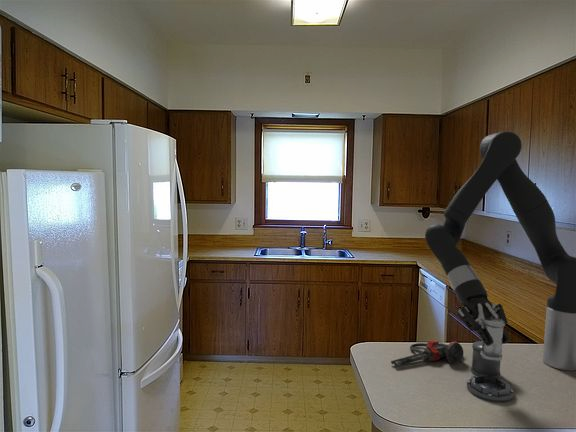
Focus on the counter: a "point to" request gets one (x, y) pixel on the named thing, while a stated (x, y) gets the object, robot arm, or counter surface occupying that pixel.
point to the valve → (433, 353)
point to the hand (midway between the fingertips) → (498, 343)
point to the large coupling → (483, 363)
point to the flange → (490, 388)
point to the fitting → (496, 334)
